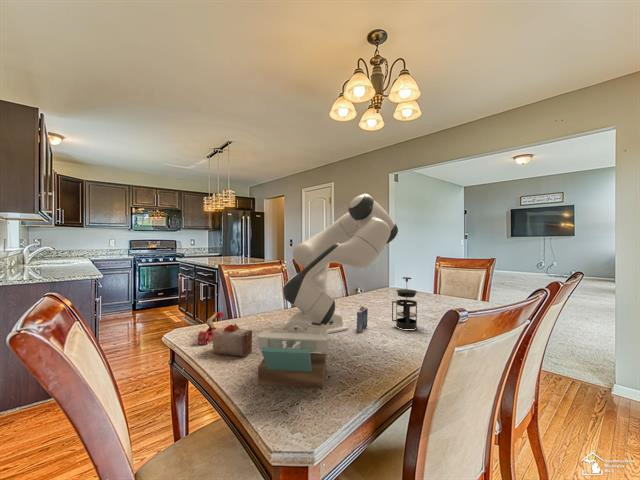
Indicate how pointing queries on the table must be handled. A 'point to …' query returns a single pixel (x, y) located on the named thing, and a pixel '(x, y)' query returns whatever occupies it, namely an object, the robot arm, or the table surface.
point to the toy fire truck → (209, 329)
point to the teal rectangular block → (287, 359)
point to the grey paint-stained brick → (232, 341)
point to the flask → (362, 318)
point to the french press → (405, 309)
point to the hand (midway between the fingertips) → (288, 351)
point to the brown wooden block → (295, 374)
